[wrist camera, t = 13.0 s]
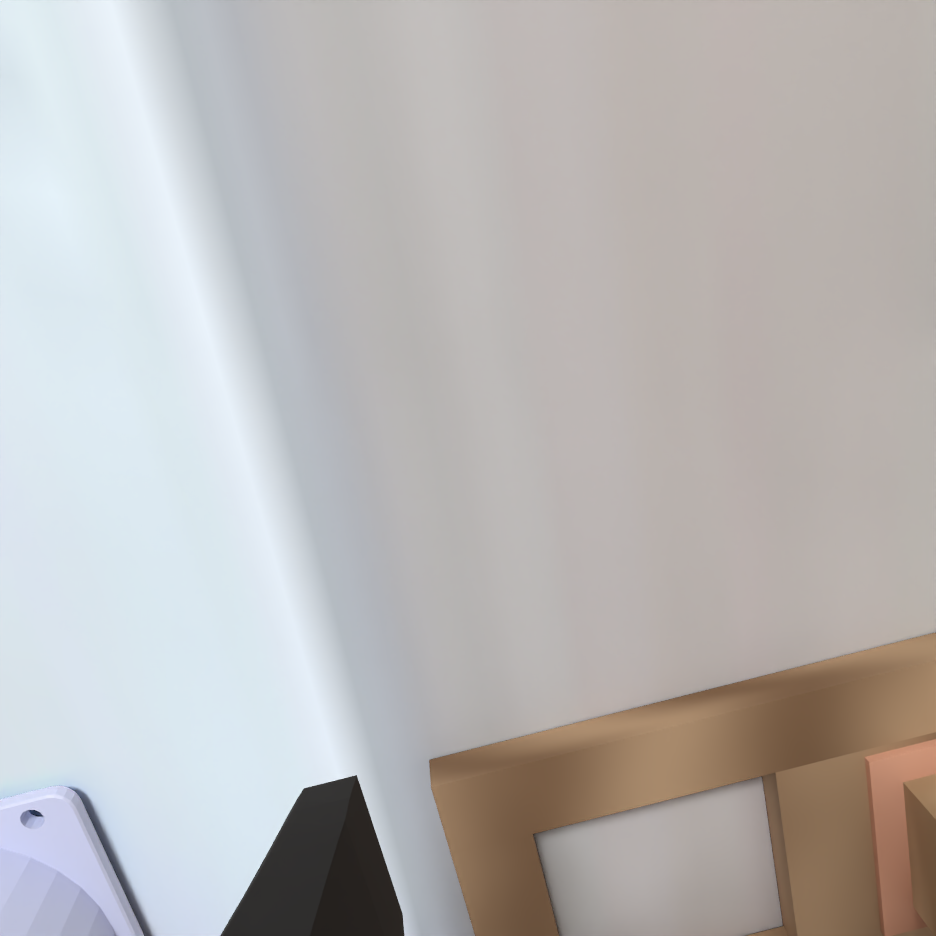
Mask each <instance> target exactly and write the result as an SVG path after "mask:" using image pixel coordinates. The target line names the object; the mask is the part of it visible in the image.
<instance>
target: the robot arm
mask: <svg viewBox="0 0 936 936" xmlns="http://www.w3.org/2000/svg"><path fill="white" fill-rule="evenodd" d="M28 810H36V811H38V812H40V813H41V814H42V815H43V816H44V817H37V816H35V815H32V814H31V813H30V812H29V811H28ZM0 936H144V934H143V932H142V930H141V928H140V925H139V923H138V921H137V919H136V917H135V915H134V913H133V910H132V908H131V906H130V904H129V902H128V900H127V897H126V895H125V893H124V891H123V889H122V887H121V885H120V882H119V880H118V878H117V876H116V874H115V872H114V869H113V867H112V865H111V863H110V861H109V859H108V857H107V854H106V852H105V850H104V848H103V846H102V844H101V841H100V839H99V837H98V835H97V833H96V831H95V829H94V826H93V824H92V822H91V820H90V818H89V816H88V814H87V811H86V809H85V807H84V805H83V803H82V801H81V798H80V797H79V796H78V794H77V793H76V792H75V791H73V790H72V789H70V788H68V787H64V786H51V787H47V788H43V789H39V790H35V791H31V792H27V793H23V794H19V795H15V796H11V797H7V798H3V799H0ZM221 936H404V927H403V915H402V911H401V908H400V905H399V902H398V899H397V896H396V893H395V890H394V887H393V884H392V881H391V878H390V875H389V872H388V869H387V866H386V863H385V860H384V857H383V854H382V851H381V848H380V845H379V842H378V839H377V836H376V833H375V830H374V827H373V824H372V820H371V817H370V814H369V811H368V808H367V805H366V802H365V799H364V796H363V793H362V790H361V787H360V784H359V781H358V778H357V775H356V776H352V777H348V778H344V779H340V780H336V781H332V782H328V783H324V784H320V785H316V786H312V787H308V788H304V789H303V791H302V793H301V794H300V796H299V797H298V799H297V800H296V802H295V804H294V806H293V808H292V809H291V811H290V813H289V815H288V817H287V818H286V820H285V822H284V824H283V826H282V828H281V829H280V831H279V833H278V835H277V837H276V839H275V840H274V842H273V844H272V846H271V848H270V850H269V852H268V853H267V855H266V857H265V859H264V861H263V862H262V864H261V866H260V868H259V870H258V871H257V873H256V875H255V877H254V879H253V880H252V882H251V884H250V886H249V888H248V889H247V891H246V893H245V895H244V896H243V898H242V900H241V902H240V903H239V905H238V907H237V908H236V910H235V912H234V913H233V915H232V917H231V919H230V920H229V922H228V924H227V925H226V927H225V929H224V931H223V932H222V934H221Z"/></svg>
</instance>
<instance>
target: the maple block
mask: <svg viewBox="0 0 936 936" xmlns="http://www.w3.org/2000/svg"><path fill="white" fill-rule="evenodd" d="M903 788H904V800H905V811H906V823H907V835H908V847H909V859H910V870H911V882H912V894H913V906H914V908H915V910H916V911H917V913H918V914H919V915H920V917H921V918H922V919H923V921H924V922H925V923H926V925H927V926H928V927H929V929H930V930H931V932H932V933H933V934H934V936H936V774H933V775H929V776H925V777H921V778H918V779H914V780H910V781H906V782H903Z"/></svg>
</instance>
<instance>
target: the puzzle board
mask: <svg viewBox="0 0 936 936" xmlns="http://www.w3.org/2000/svg"><path fill="white" fill-rule="evenodd" d="M429 763H430V778H431V789H432V792H433V795H434V799H435V802H436V805H437V809H438V812H439V815H440V819H441V822H442V826H443V829H444V832H445V836H446V839H447V842H448V846H449V849H450V852H451V856H452V859H453V863H454V866H455V869H456V873H457V876H458V879H459V883H460V886H461V889H462V893H463V896H464V900H465V903H466V906H467V910H468V913H469V916H470V920H471V923H472V926H473V930H474V933H475V936H559V932H558V928H557V924H556V921H555V917H554V913H553V909H552V905H551V901H550V897H549V893H548V889H547V885H546V881H545V877H544V873H543V870H542V866H541V862H540V858H539V854H538V850H537V846H536V842H535V838H534V834H535V833H539V832H543V831H547V830H551V829H555V828H559V827H562V826H566V825H570V824H574V823H578V822H582V821H586V820H590V819H594V818H598V817H602V816H606V815H610V814H614V813H618V812H622V811H626V810H630V809H634V808H638V807H642V806H646V805H649V804H653V803H657V802H661V801H665V800H669V799H673V798H677V797H681V796H685V795H689V794H693V793H697V792H701V791H705V790H709V789H713V788H717V787H721V786H725V785H729V784H732V783H736V782H740V781H744V780H748V779H752V778H756V777H760V776H762V778H763V785H764V792H765V799H766V806H767V813H768V821H769V828H770V835H771V842H772V849H773V856H774V863H775V870H776V877H777V884H778V891H779V898H780V906H781V913H782V920H783V926H782V927H778V928H774V929H770V930H766V931H762V932H758V933H754V934H750V935H746V936H934V934H933V933H932V932H931V930H930V929H929V927H928V926H927V925H926V923H925V922H924V921H923V919H922V918H921V917H920V915H919V914H918V913H917V911H916V910H915V908H914V906H913V894H912V882H911V870H910V859H909V847H908V835H907V823H906V811H905V800H904V788H903V782H906V781H910V780H914V779H918V778H921V777H925V776H929V775H933V774H936V633H932V634H928V635H924V636H920V637H916V638H912V639H908V640H904V641H900V642H896V643H892V644H888V645H884V646H880V647H876V648H872V649H868V650H864V651H860V652H856V653H852V654H848V655H844V656H840V657H836V658H833V659H829V660H825V661H821V662H817V663H813V664H809V665H805V666H801V667H797V668H793V669H789V670H785V671H781V672H777V673H773V674H769V675H765V676H761V677H757V678H753V679H749V680H745V681H741V682H737V683H733V684H729V685H725V686H721V687H717V688H713V689H709V690H705V691H701V692H697V693H693V694H689V695H685V696H681V697H677V698H673V699H669V700H666V701H662V702H658V703H654V704H650V705H646V706H642V707H638V708H634V709H630V710H626V711H622V712H618V713H614V714H610V715H606V716H602V717H598V718H594V719H590V720H586V721H582V722H578V723H574V724H570V725H566V726H562V727H558V728H554V729H550V730H546V731H542V732H538V733H534V734H530V735H526V736H522V737H518V738H514V739H510V740H506V741H502V742H499V743H495V744H491V745H487V746H483V747H479V748H475V749H471V750H467V751H463V752H459V753H455V754H451V755H447V756H443V757H439V758H435V759H431V760H429Z"/></svg>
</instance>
